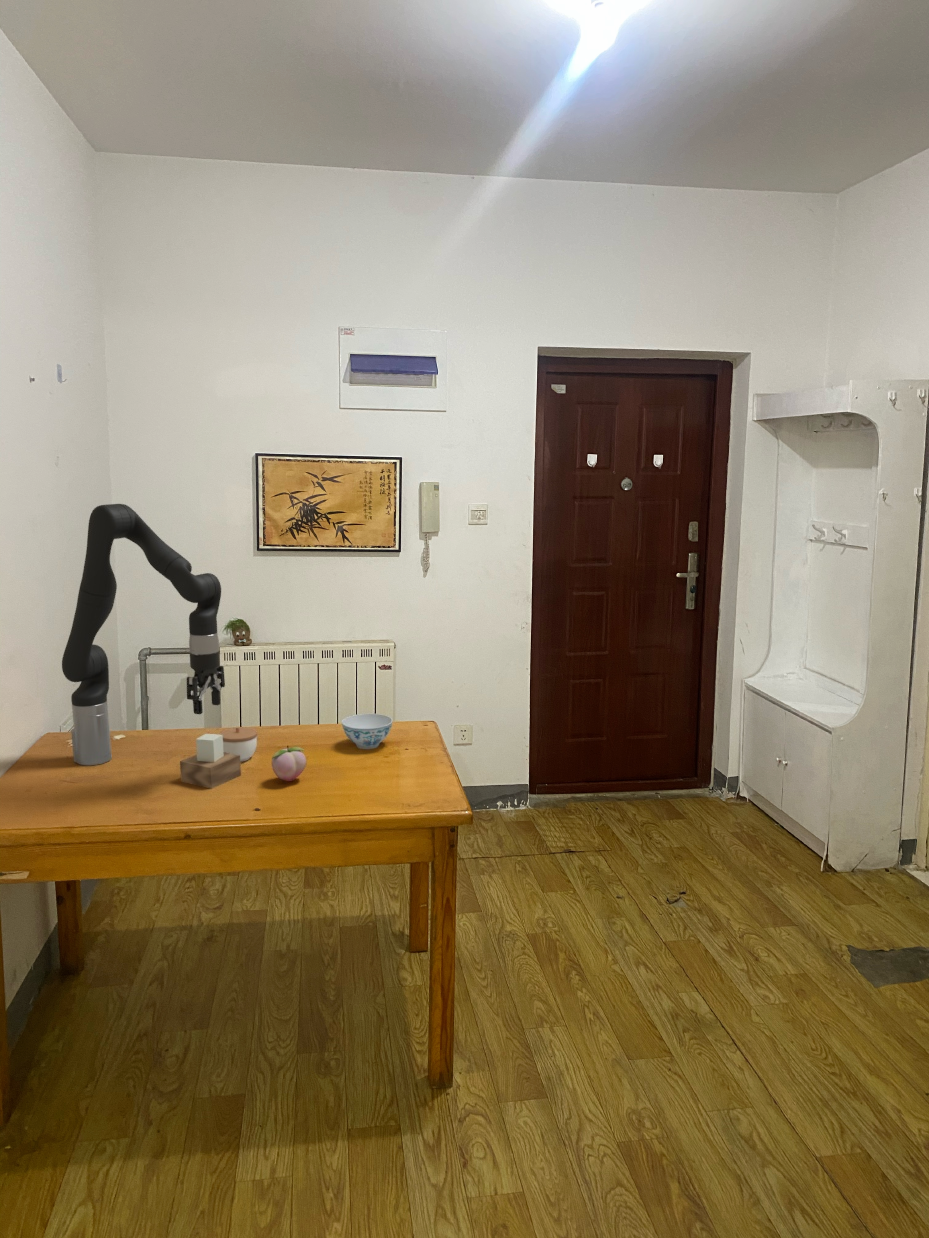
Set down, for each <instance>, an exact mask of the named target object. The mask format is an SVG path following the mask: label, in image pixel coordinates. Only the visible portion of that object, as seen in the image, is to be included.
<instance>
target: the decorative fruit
mask: <svg viewBox="0 0 929 1238" xmlns="http://www.w3.org/2000/svg"><path fill="white" fill-rule="evenodd" d="M303 752H305V749H304V748H302V747H299V746H293V747H289V745H287V747H286V748H284V749H283V748H282V749H280V750H278V751H276V752H275V753H274V754H273V755H272V758H271V769H272V770H273V773H274V775H275V776H276V777H277V778H279V779H281V780H282V781H286V782H292V781H294V780H296V779H297V778H298V777H300V775H301V774H302V773H303V772H304V770H305V768H306V767H307V757H306V756H305V754H304V753H303Z"/></svg>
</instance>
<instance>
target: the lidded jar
mask: <svg viewBox="0 0 929 1238" xmlns="http://www.w3.org/2000/svg"><path fill="white" fill-rule="evenodd" d="M218 735H223V752H226V753H230V754H235V755H240V763H242V762H246V761H249V760H250V759H251V757H252V756H253V755H254V753H255V751H256V750H257V744H258V731H257V730H256V729H254V728H253V727H252V728H251V727H247V726H245V727H244V726H243V727H241V726H236V727H232V728H231V727H230V728H227V729H224V730H221V731H220V732H219V733H218Z"/></svg>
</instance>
